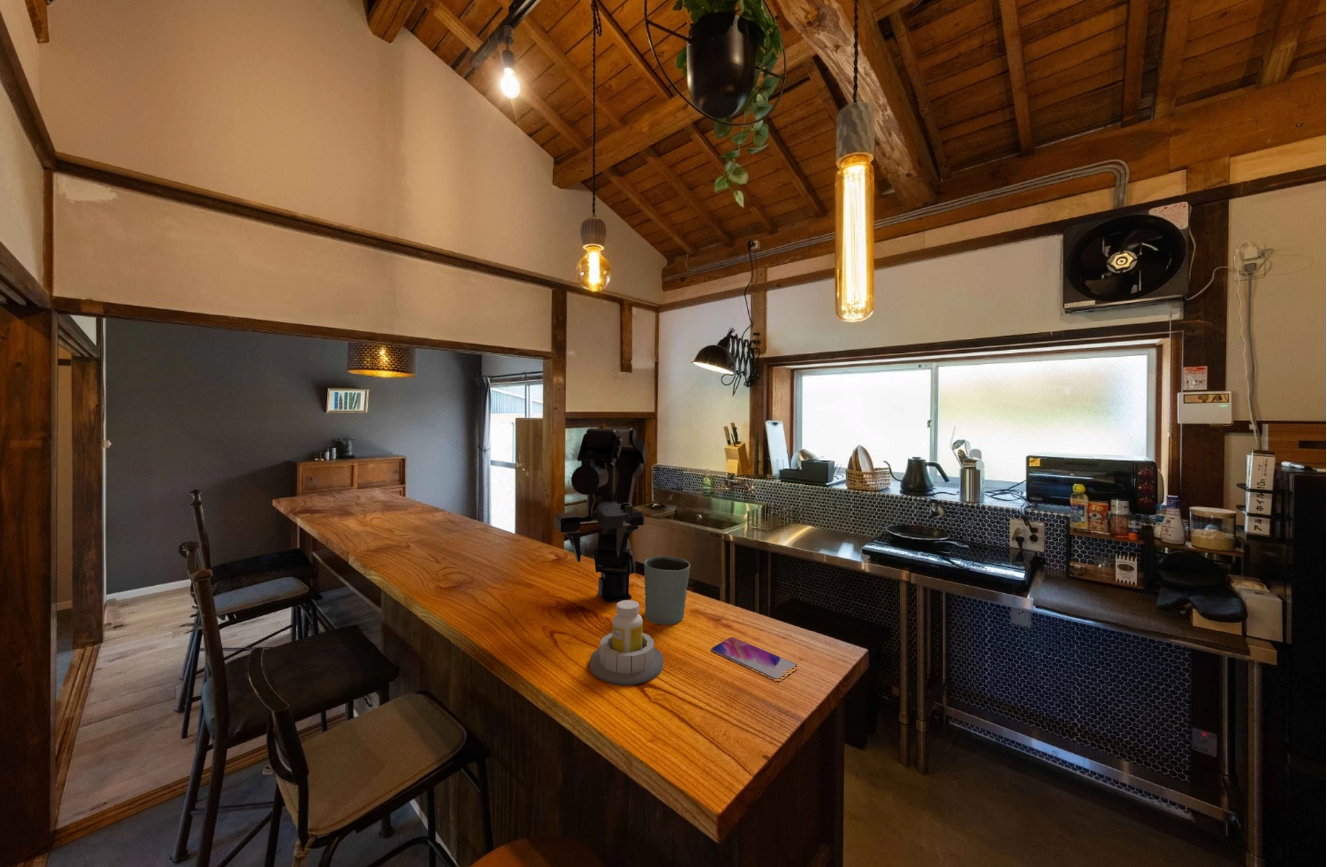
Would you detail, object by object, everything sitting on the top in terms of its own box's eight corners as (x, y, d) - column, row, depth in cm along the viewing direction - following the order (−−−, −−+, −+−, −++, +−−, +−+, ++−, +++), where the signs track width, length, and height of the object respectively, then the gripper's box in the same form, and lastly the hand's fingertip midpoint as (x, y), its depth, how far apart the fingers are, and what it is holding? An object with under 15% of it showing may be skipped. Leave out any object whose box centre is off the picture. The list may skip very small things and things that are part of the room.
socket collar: (643, 641, 94) (644, 621, 94) (676, 674, 83) (677, 651, 83) (579, 655, 88) (580, 634, 88) (605, 693, 77) (606, 668, 77)
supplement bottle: (642, 651, 88) (643, 598, 88) (641, 666, 83) (642, 610, 83) (612, 650, 88) (614, 598, 88) (610, 666, 83) (611, 610, 82)
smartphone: (779, 681, 81) (709, 648, 91) (778, 686, 81) (709, 653, 91) (800, 664, 86) (731, 636, 97) (799, 669, 86) (731, 640, 97)
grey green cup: (635, 611, 108) (636, 558, 108) (674, 604, 113) (676, 553, 113) (655, 629, 99) (656, 572, 99) (697, 621, 104) (698, 566, 104)
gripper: (569, 496, 91) (568, 576, 92) (657, 491, 100) (654, 565, 101) (554, 487, 101) (552, 560, 102) (634, 483, 110) (632, 550, 111)
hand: (599, 559), depth 103 cm, fingers open, 9 cm apart
